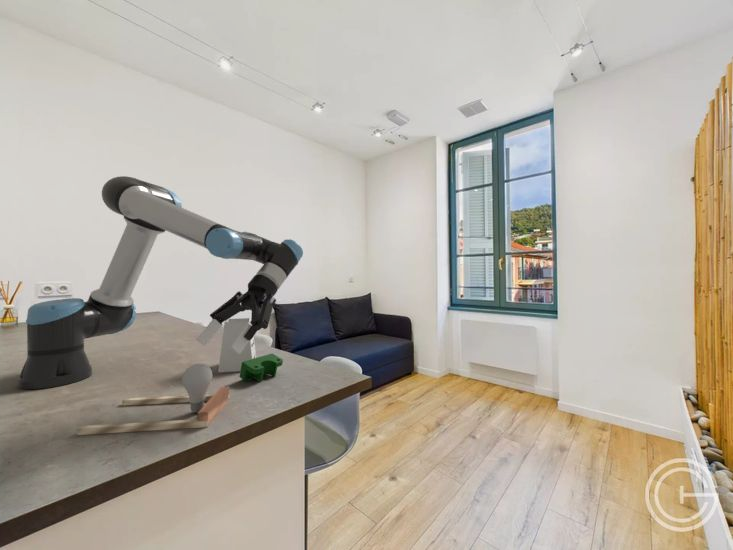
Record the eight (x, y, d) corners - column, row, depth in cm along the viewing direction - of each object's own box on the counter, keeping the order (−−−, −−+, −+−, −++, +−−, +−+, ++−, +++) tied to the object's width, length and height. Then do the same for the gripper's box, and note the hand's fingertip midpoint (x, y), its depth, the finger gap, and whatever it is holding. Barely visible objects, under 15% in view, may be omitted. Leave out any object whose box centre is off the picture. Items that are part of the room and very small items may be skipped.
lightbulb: (218, 408, 71) (218, 361, 71) (195, 420, 65) (196, 369, 65) (198, 404, 73) (198, 359, 73) (175, 416, 67) (175, 366, 67)
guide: (77, 435, 59) (77, 419, 59) (125, 403, 73) (125, 391, 73) (207, 427, 62) (207, 412, 62) (229, 398, 77) (229, 386, 77)
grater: (225, 362, 106) (225, 306, 106) (256, 360, 109) (256, 305, 109) (218, 372, 96) (218, 309, 96) (253, 370, 99) (253, 309, 99)
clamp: (255, 397, 88) (249, 374, 84) (243, 388, 91) (236, 365, 87) (286, 371, 97) (282, 349, 93) (274, 364, 100) (269, 342, 96)
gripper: (306, 293, 82) (261, 363, 69) (245, 289, 94) (198, 348, 81) (292, 273, 77) (241, 344, 64) (230, 272, 90) (177, 331, 77)
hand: (217, 346), depth 73 cm, fingers open, 13 cm apart
